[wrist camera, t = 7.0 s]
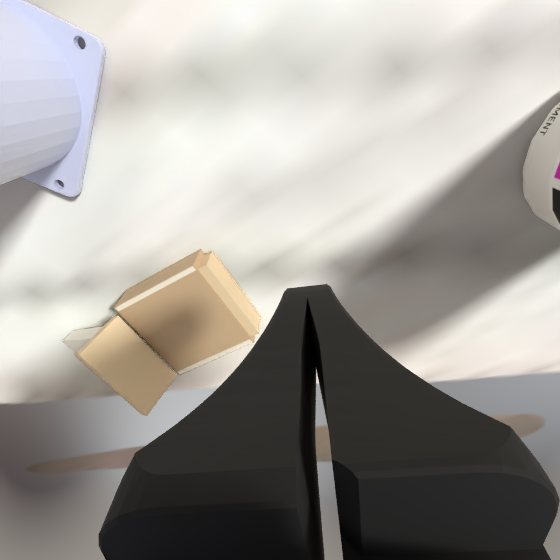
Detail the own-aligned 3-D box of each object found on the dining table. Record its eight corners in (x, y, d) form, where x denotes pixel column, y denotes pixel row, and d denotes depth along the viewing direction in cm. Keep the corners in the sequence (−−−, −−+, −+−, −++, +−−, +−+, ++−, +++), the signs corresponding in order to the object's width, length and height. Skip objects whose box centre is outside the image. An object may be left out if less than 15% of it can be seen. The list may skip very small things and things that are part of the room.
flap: (78, 354, 19) (40, 355, 23) (146, 415, 22) (101, 406, 26) (118, 315, 21) (76, 322, 25) (176, 375, 24) (129, 372, 28)
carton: (208, 244, 21) (201, 260, 20) (263, 319, 24) (261, 338, 22) (126, 289, 23) (112, 308, 21) (186, 355, 26) (178, 375, 24)
